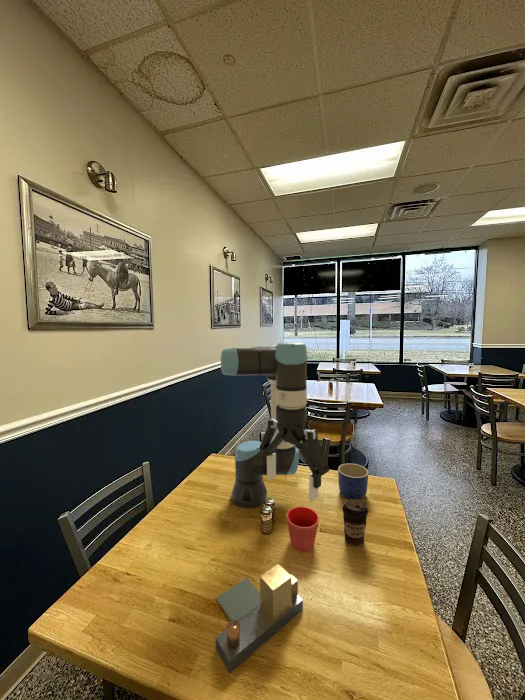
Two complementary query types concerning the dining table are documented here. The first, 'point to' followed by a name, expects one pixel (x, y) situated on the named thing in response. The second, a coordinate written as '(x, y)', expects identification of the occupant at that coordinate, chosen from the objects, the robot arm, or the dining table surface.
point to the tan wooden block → (275, 591)
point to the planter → (353, 481)
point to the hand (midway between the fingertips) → (291, 488)
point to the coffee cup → (354, 522)
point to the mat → (239, 599)
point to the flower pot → (302, 528)
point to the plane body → (254, 631)
